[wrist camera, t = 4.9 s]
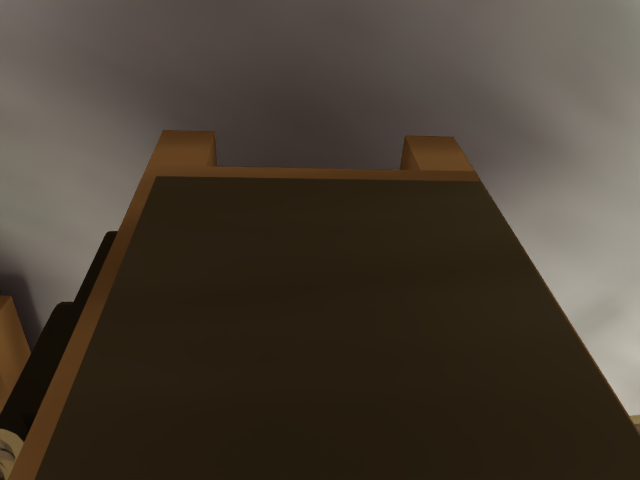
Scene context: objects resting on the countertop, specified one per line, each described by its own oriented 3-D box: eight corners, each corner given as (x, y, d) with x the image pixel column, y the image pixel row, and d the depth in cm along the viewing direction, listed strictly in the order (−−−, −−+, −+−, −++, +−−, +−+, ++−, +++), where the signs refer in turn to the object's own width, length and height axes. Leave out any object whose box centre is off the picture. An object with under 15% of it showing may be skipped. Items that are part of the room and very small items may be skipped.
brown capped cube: (159, 100, 10) (-103, 609, 3) (458, 108, 11) (793, 568, 4) (186, 318, 13) (83, 811, 6) (415, 317, 14) (553, 778, 7)
